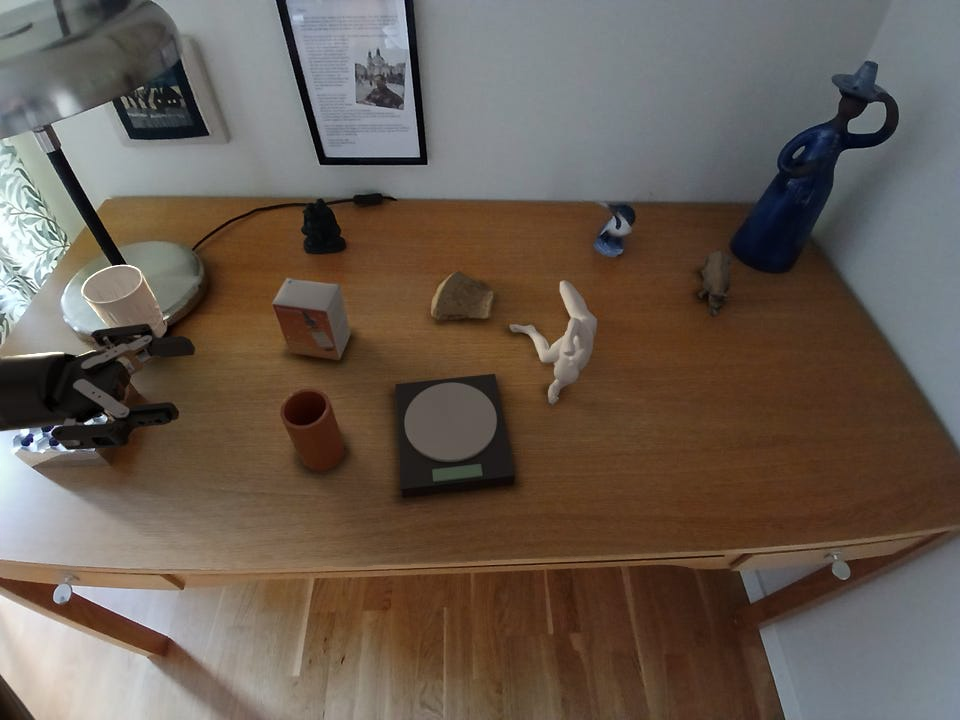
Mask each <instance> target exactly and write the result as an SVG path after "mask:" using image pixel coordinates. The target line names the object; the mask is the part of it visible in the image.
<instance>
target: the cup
mask: <svg viewBox="0 0 960 720" xmlns="http://www.w3.org/2000/svg"><path fill="white" fill-rule="evenodd" d="M279 416H280V418H281V421H282V423H283V426H284V428H285V429H286V432H287V433H288V436H289V438H290V440H291V442H292V444H293V446H294V448H295V451H296V452H297V454H298V457H299V460H300V461H301V463H302V464H303V466H304V467H306V468H307V469H309V470H311V471H315V472H324V471H327V470H330V469H332V468H334V467H335V466H336V465H338V464H339V463H340V462H341V460H342V459H343V457H344V455H345V451H346V446H345V441H344V438H343V436H342V432H341V429H340V427H339V424H338V421H337V418H336V415H335V412H334V409H333V405H332V403H331V401H330V398H329V396H328V395H327V394H326V393H325V392H323V391H322V390H320V389H317V388H312V387H311V388H301V389H299V390H297V391H294V392H293V393H290V395H289V396H287V397H286V398H285V399H284V400H283V402H282V404H281V405H280V411H279Z"/></svg>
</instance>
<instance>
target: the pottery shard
mask: <svg viewBox="0 0 960 720" xmlns="http://www.w3.org/2000/svg"><path fill="white" fill-rule="evenodd" d="M497 296H498V293H497V292H495V291H494V290H492V289H490V288H488V287H485V286H484V285H483V284H482V283H481V282H480V281H477V280H475V279H474V278H471V277H470V276H468V275H466V273H465V274H464V273H463V272H462V271H461V270H457V271H454V272H453V273H451V274H449V275H448V276H447V277H446V278H445V279H444V280H443V281H441V283H439V285H438V286H437V288H436V292H435V294H434V296H433V297H432V298H431V306H430V315H431V316H432V317H433V318H434V319H436V320H438V321H439V322H442V321H461V320H465V319H471V320H489V319H491V318H492V310H493V304H494V301H495V300H496V298H497Z"/></svg>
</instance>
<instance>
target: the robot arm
mask: <svg viewBox="0 0 960 720" xmlns="http://www.w3.org/2000/svg"><path fill="white" fill-rule="evenodd" d="M137 335H141V337H138V338H136V337H134V336H137ZM90 336H91V338H92V339H93V341H94V344H93V346H92V347H93V348H92V350H90V351H87V352H85V353H83V354H70V353H66V352H62V351H60V352H59V351H52V352H42V353H32V354H31V353H30V354H20V355H8V356H0V432H9V431H20V430H28V429H29V430H30V429H38V428H49V427H54V428H52V430H51V431H50V436H51V438H53V439H55V440H56V441H57V442H58V443H59V444H60V445H61V446H62V447H63V448H64V449H65V450H67V451H73V450H74V451H76V450H93V449H110V448H113V449H114V448H123V447H125V446H127V445H128V444H129V442H130V438H129V436H130V435H131V434H132V432H134V431H136V430H138V429H139V428H144V427H154V426H164V425H168V424H170V423H172V421H177V420H178V419H179V416H180V412H181V411H180V410H179V409H178V407H177V406H176V405H175V404H174V402H171V401H166V402H153V403H145V404H143V403H142V404H134V405H132V407H131V409H129V407H128V406H126V405H124V404H122V403H121V401H122V402H123V401H125V398H126V395H127V394H126V393H127V392H126V391H127V387H128V386H129V384H130V383H131V381H132V380H131V379H132V376H133V375H135V374H137V373H139V372H141V371H142V370H143V368H144V366H145V365H146V364H148V363H150V362H151V361H153V360H156V359H157V358H160V359H167V358H168V359H169V358H179V357H189V356H194V355H195V353H196V346H195V345H194V343H193V341H192V339H190V338H188V337H186V336H183V335H176V336H175V335H174V336H164V337H163V336H162V337H161V338H158V337H157V336H156V335H155V333H154V332H153V330H152V328H151V327H150V325H149V324H139V325H131V326H123V327H115V328H109V327H107V328H101V329H95V330H94V331H92V332H91V334H90ZM143 350H144V351H143ZM141 351H143V352H142V353H139V352H141ZM137 353H139V354H138V355H136V354H137ZM121 358H126V359H127V360H128V363H127V364H126V365H125V363H123V362H121V361H120V360H118V359H121ZM100 415H102V416H103V417H105V418H107V419H109V421H110V420H111V421H112V422H109V423H94V424H91V423H90V424H85V423H88V422H89V421H91V420H93V419H94V418H97V417H98V416H100ZM0 720H37V719H36V718H35V717H34V715H33V714H32V713H31V712H30V710H29V709H28V707H27V706H26V705H25V704H24V702H23V701H22V699H21V698H20V697H19V696H18V694H17V693H16V692H15V691H14V689H13V688H12V687H11V686H10V684H9V683H8V681H6V679H5V678H4V677H3V675H1V673H0Z"/></svg>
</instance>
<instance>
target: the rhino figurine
mask: <svg viewBox="0 0 960 720" xmlns="http://www.w3.org/2000/svg"><path fill="white" fill-rule="evenodd" d="M730 264H731V258H730V256H729V255H728V254H727V253H725V252H723V251H722V250H719V251H714V252H712V253H710V254H708V255H707V256H706V257H705V260H704V265H705V266H704V268H703V269H701V270H700V273H701V276H702V277H703V282H702V287H703V290H701V291H700V292H698V296H699V298H700V299H708V307H709V311H708V312H709V315H710V317H713V318H716V317H717V316H720V315H719V314H720V311H721V309H722V308H723V307H724V306H723V305H724V301H725V299H729V298H730V297H731V295H729V294H726V293H727V292H728V291H729V290H730V287H731V286H730V285H731V284H730V279H731V267H730Z"/></svg>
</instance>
